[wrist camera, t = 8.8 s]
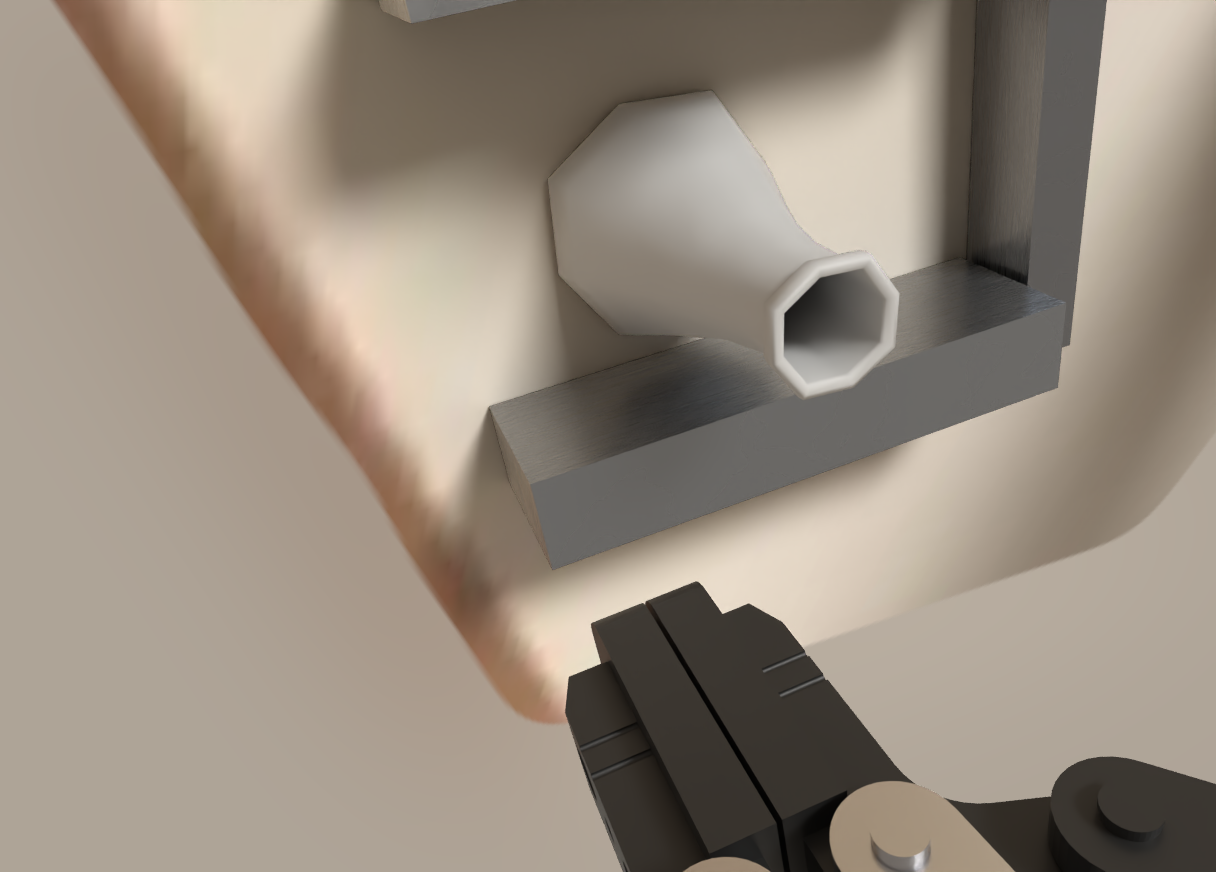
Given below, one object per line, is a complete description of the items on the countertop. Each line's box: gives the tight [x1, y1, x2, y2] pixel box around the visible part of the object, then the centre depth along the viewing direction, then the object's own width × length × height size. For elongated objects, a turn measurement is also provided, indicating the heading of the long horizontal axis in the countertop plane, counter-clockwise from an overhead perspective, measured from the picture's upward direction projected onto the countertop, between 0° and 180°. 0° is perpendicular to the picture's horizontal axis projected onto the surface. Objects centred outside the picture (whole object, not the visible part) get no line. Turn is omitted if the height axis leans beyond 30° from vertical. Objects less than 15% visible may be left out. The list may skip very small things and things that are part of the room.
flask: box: [548, 90, 899, 400], centre depth 23 cm, size 7×7×10 cm
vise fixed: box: [489, 0, 1107, 570], centre depth 25 cm, size 20×19×5 cm
